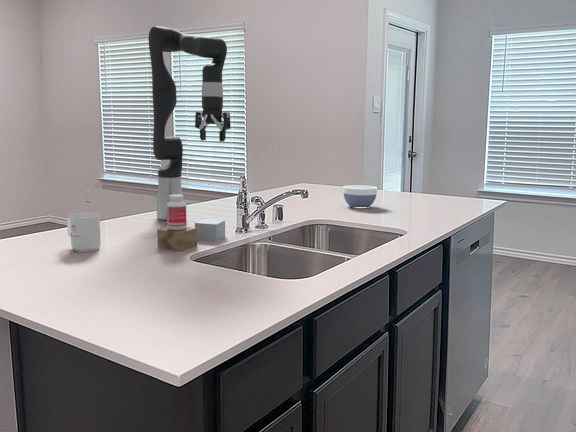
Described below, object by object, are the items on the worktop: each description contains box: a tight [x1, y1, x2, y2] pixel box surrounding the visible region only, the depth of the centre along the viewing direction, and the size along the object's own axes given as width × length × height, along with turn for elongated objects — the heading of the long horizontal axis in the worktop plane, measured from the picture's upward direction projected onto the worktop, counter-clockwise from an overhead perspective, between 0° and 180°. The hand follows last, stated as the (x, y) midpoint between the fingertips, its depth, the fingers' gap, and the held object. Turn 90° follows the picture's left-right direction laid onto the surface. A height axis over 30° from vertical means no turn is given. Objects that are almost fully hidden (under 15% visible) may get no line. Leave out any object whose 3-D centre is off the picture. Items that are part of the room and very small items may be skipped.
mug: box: [66, 212, 102, 253], centre depth 186 cm, size 12×9×11 cm
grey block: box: [194, 218, 226, 243], centre depth 205 cm, size 8×8×6 cm
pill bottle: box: [166, 194, 188, 230], centre depth 190 cm, size 6×6×11 cm
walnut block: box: [156, 226, 198, 252], centre depth 192 cm, size 9×9×6 cm
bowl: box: [342, 184, 378, 208], centre depth 275 cm, size 16×16×10 cm
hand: (212, 140), depth 213 cm, fingers open, 8 cm apart
